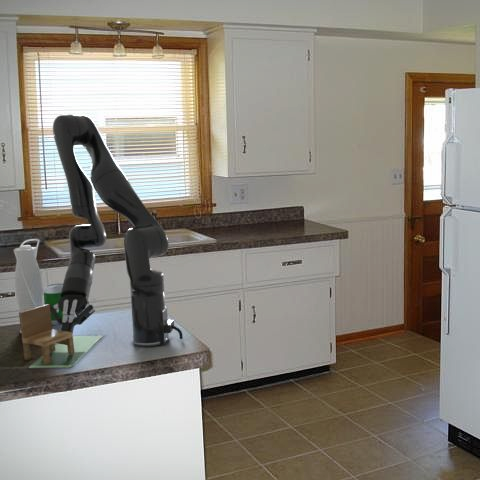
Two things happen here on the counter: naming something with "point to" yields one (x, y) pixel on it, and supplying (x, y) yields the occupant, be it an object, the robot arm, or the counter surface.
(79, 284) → the robot arm
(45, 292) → the soda can
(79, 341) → the mat
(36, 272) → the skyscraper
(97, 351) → the counter surface
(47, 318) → the chair
